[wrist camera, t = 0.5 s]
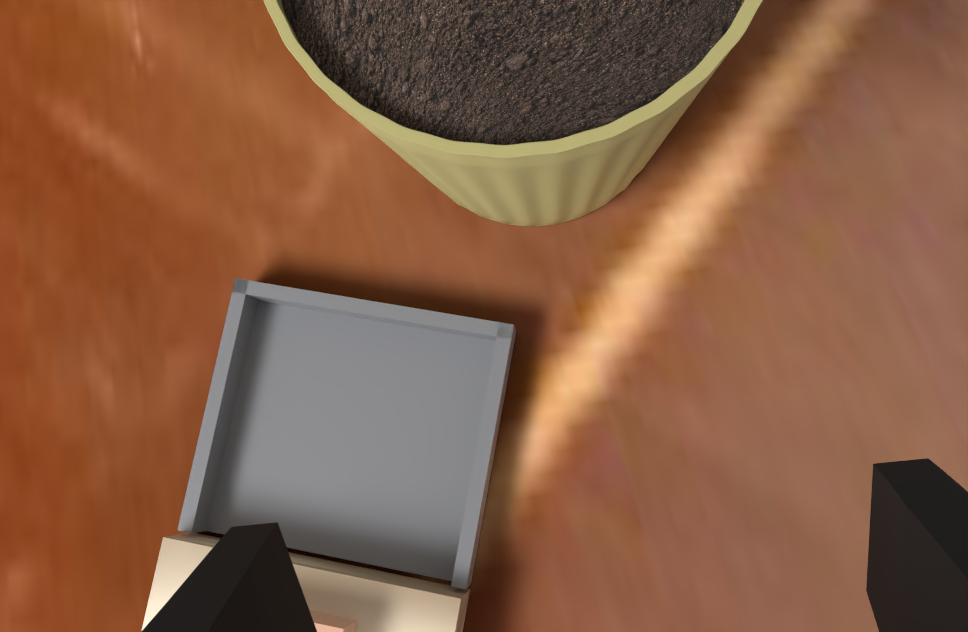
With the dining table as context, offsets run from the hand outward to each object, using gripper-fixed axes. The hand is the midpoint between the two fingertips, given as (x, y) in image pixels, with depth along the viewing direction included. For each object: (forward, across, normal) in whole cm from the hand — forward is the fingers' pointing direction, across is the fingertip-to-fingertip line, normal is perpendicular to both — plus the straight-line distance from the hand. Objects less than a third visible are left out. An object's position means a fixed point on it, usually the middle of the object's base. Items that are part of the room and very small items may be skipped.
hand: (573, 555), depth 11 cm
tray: (+23, +10, +14) cm, 29 cm away
